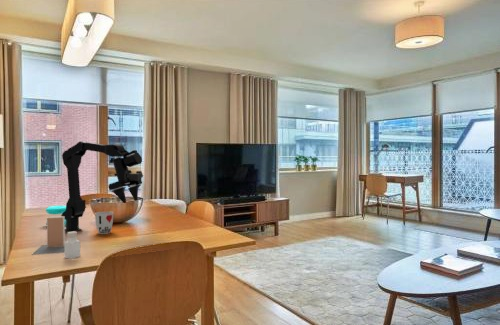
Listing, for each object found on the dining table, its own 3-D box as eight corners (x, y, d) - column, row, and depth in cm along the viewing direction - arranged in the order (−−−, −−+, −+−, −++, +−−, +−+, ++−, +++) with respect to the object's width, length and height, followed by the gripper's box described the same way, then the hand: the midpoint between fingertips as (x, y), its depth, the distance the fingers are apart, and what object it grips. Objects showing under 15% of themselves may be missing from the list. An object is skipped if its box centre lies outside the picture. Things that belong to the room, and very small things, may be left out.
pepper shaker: (63, 258, 128) (63, 232, 128) (72, 255, 132) (72, 230, 132) (72, 260, 127) (71, 233, 127) (81, 257, 131) (80, 231, 130)
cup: (95, 236, 163) (95, 214, 163) (94, 232, 170) (94, 211, 170) (114, 234, 167) (114, 213, 166) (112, 230, 174) (112, 210, 174)
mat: (42, 246, 145) (42, 245, 145) (74, 244, 149) (74, 243, 149) (31, 255, 132) (31, 254, 132) (66, 253, 135) (66, 252, 135)
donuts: (57, 204, 192) (71, 205, 189) (57, 223, 192) (72, 224, 189) (41, 207, 182) (56, 208, 179) (41, 226, 183) (56, 228, 180)
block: (48, 246, 144) (48, 216, 144) (64, 245, 146) (64, 216, 145) (47, 247, 142) (46, 217, 142) (63, 246, 144) (63, 217, 143)
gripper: (124, 165, 155) (134, 199, 155) (146, 164, 173) (155, 194, 173) (103, 173, 158) (113, 206, 157) (127, 170, 176) (136, 200, 175)
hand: (130, 201), depth 166 cm, fingers open, 9 cm apart
